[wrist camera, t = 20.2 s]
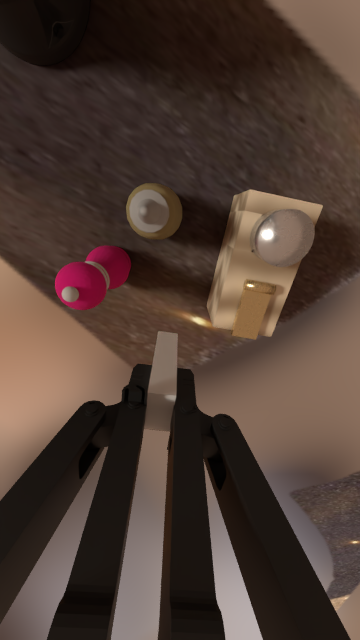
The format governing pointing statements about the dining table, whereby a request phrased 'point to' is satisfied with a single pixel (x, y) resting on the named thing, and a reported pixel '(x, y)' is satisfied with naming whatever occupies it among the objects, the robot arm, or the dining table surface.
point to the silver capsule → (282, 237)
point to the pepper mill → (92, 277)
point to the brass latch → (252, 308)
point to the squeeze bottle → (154, 211)
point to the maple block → (251, 260)
